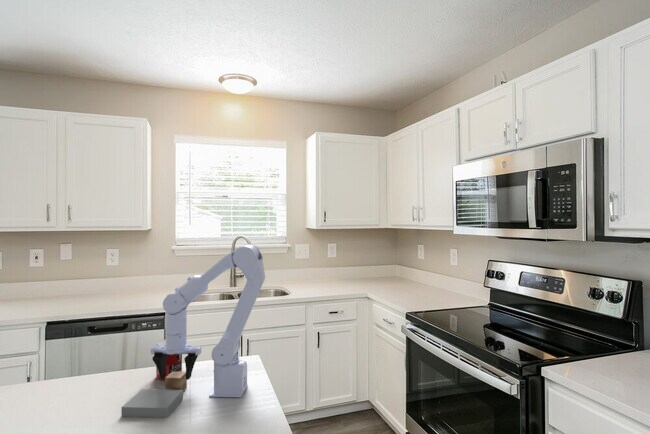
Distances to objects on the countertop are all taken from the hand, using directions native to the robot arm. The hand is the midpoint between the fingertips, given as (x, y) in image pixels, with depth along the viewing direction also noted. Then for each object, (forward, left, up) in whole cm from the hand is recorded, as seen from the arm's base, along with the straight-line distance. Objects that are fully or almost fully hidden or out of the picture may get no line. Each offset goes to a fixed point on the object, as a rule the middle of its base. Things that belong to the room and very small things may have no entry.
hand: (175, 378), depth 111 cm
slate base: (+2, +9, -4) cm, 10 cm away
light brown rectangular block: (0, 0, -4) cm, 4 cm away
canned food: (+7, -11, -4) cm, 13 cm away
